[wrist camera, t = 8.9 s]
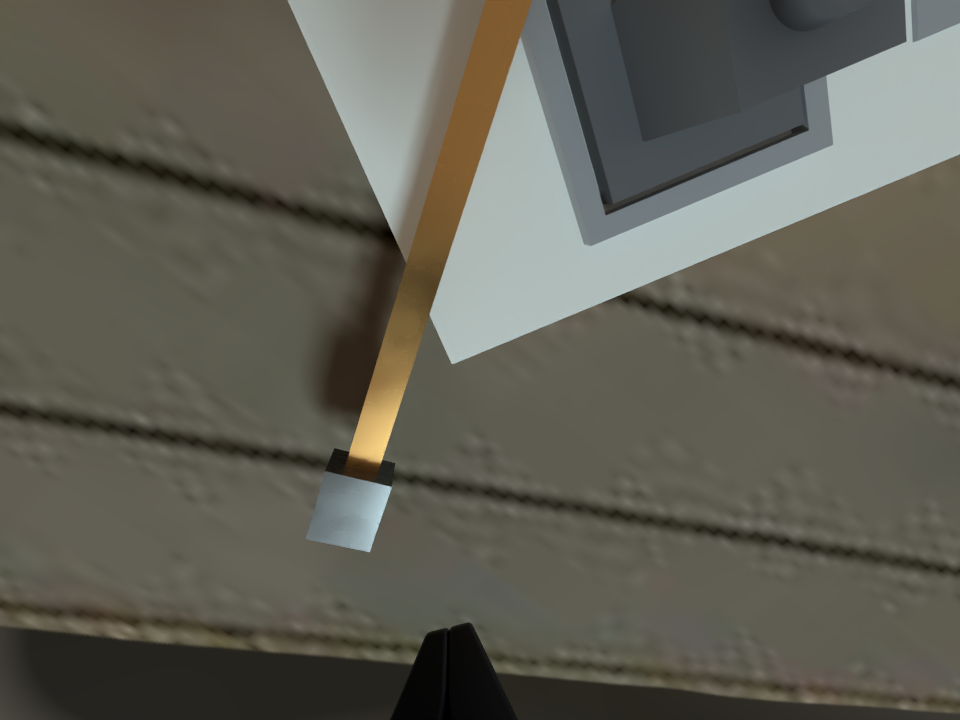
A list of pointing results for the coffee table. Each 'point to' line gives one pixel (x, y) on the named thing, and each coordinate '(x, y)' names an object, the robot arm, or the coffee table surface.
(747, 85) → the plug
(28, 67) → the coffee table surface
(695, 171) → the power strip
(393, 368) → the golden thin rod
